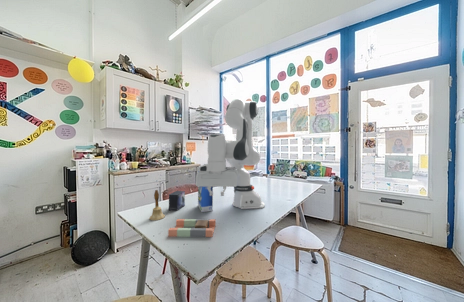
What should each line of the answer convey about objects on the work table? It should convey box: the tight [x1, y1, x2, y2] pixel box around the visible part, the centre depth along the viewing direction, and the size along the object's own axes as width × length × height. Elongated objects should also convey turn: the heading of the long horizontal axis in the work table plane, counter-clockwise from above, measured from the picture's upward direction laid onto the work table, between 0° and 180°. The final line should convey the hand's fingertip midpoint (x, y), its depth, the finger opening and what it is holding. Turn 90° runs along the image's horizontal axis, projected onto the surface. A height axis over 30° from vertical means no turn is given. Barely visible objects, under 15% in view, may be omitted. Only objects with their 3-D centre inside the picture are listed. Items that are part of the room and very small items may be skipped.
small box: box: [168, 190, 186, 212], centre depth 115 cm, size 11×6×10 cm, turn 168°
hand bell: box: [148, 189, 166, 222], centre depth 100 cm, size 8×8×16 cm
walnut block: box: [194, 220, 209, 228], centre depth 84 cm, size 5×6×4 cm
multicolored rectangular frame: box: [167, 218, 217, 238], centre depth 84 cm, size 20×12×3 cm, turn 88°
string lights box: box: [197, 170, 214, 213], centre depth 115 cm, size 13×8×26 cm, turn 21°
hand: (216, 195), depth 83 cm, fingers open, 4 cm apart
